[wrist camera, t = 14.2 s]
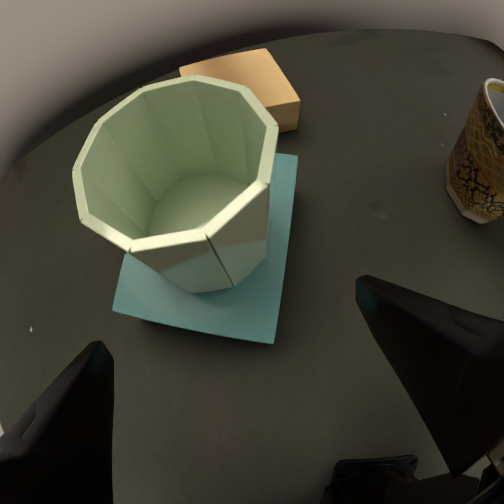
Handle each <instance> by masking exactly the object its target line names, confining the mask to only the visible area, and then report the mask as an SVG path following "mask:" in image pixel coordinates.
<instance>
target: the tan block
mask: <svg viewBox="0 0 504 504" xmlns="http://www.w3.org/2000/svg"><path fill="white" fill-rule="evenodd" d="M179 70H180V74H181V77H185V76H189V75H203V76H207V77H212V78H216V79H220V80H225V81H229V82H233V83H236V84H240V85H244V86H246V88H249V89H250V90H251V91H252V92H253V94H254V95H255V96H256V97H257V99H258V100H259V101H260V102H261V103H262V105H263V106H264V107H265V108H266V110H267V111H268V112H269V113H270V115H271V116H272V117H273V118H274V120H275V121H276V122H277V124H278V127H279V133H282V132H287V131H291V130H296V129H297V123H298V115H299V108H300V99H299V97H298V96H297V94H296V93H295V91H294V89H293V88H292V86H291V85H290V83H289V82H288V80H287V78H286V77H285V75H284V74H283V72H282V71H281V69H280V68H279V66H278V65H277V64H276V62H275V61H274V59H273V58H272V56H271V55H270V53H269V52H268V51H267V49H266V48H265V49H258V50H252V51H247V52H241V53H236V54H231V55H226V56H222V57H218V58H213V59H209V60H205V61H201V62H197V63H194V64H190V65H186V66H183V67H180V68H179Z"/></svg>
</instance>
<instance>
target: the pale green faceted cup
mask: <svg viewBox="0 0 504 504" xmlns="http://www.w3.org/2000/svg"><path fill="white" fill-rule="evenodd" d="M97 122H98V123H95V125H94V126H93V128H92V130H91V132H90V134H89V136H88V138H87V140H86V142H85V144H84V146H83V148H82V150H81V152H80V154H79V156H78V158H77V160H76V162H75V165H74V167H73V171H72V177H73V184H74V190H75V197H76V203H77V208H78V214H79V219H80V221H81V223H82V224H83V225H85V226H86V227H88V228H89V229H90V230H92V231H93V232H95V233H96V234H97V235H99V236H100V237H102V238H103V239H104V240H106V241H107V242H109V243H110V244H112V245H113V246H115V247H116V248H117V249H119V250H120V251H122V252H123V253H125V254H126V255H128V256H129V257H131V258H132V259H134V260H135V261H137V262H138V263H140V264H141V265H143V266H144V267H146V268H147V269H149V270H150V271H152V272H154V273H155V274H157V275H158V276H160V277H162V278H164V279H165V280H167V281H169V282H170V283H172V284H174V285H176V286H177V287H179V288H181V289H183V290H184V291H186V292H188V293H199V292H212V291H218V290H222V289H227V288H233V287H234V286H236V285H237V284H238V283H239V282H240V281H241V280H243V279H244V278H245V277H247V276H248V275H249V274H250V273H251V272H252V271H253V270H254V269H255V268H256V267H257V265H258V264H259V263H260V262H261V261H262V260H263V259H264V258H265V257H266V255H267V252H268V245H269V239H270V232H271V226H272V219H273V209H274V196H275V182H276V167H277V152H278V137H279V127H278V124H277V122H276V121H275V120H274V118H273V117H272V116H271V115H270V113H269V112H268V111H267V110H266V108H265V107H264V106H263V105H262V103H261V102H260V101H259V100H258V99H257V97H256V96H255V95H254V94H253V92H252V91H251V90H250V89H249V88H246V86H244V85H240V84H236V83H233V82H229V81H225V80H220V79H216V78H212V77H207V76H203V75H189V76H185V77H180V78H176V79H171V80H167V81H163V82H159V83H155V84H151V85H148V86H144V87H142V89H141V88H140V89H138V90H137V91H135V92H134V93H133V94H131V95H130V96H128V97H127V98H126V99H124V100H123V101H122V102H120V103H119V104H118V105H116V106H115V107H114V108H112V109H111V110H110V111H109V112H107V113H106V114H105V115H104V116H102V117H101V118H100V119H99V120H98V121H97ZM233 285H234V286H233Z"/></svg>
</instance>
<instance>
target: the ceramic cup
mask: <svg viewBox="0 0 504 504" xmlns="http://www.w3.org/2000/svg"><path fill="white" fill-rule="evenodd" d="M445 175H446V190H447V192H448V193H449V195H450V197H451V198H452V200H453V201H454V203H455V205H456V206H457V208H458V210H459V211H460V213H461V214H462V215H463V216H465V217H467V218H469V219H471V220H473V221H475V222H477V223H479V224H484V223H487V222H490V221H493V220H495V219H498V218H501V217H504V80H503V79H501V80H498V79H494V78H488V79H486V80H485V81H484V82H483V84H482V86H481V88H480V90H479V92H478V94H477V96H476V99H475V101H474V103H473V106H472V108H471V110H470V113H469V115H468V118H467V121H466V124H465V126H464V128H463V130H462V132H461V134H460V136H459V138H458V140H457V142H456V144H455V146H454V149H453V150H452V152H451V154H450V156H449V158H448V160H447V162H446V165H445Z"/></svg>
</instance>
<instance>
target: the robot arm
mask: <svg viewBox="0 0 504 504" xmlns="http://www.w3.org/2000/svg"><path fill="white" fill-rule="evenodd" d="M356 302H357V305H358V306H359V309H360V311H361V313H362V315H363V317H364V319H365V321H366V323H367V325H368V327H369V329H370V331H371V333H372V335H373V337H374V339H375V340H376V342H377V344H378V345H379V347H380V348H381V350H382V352H383V353H384V355H385V356H386V358H387V360H388V361H389V363H390V365H391V366H392V368H393V369H394V371H395V373H396V374H397V376H398V378H399V379H400V381H401V383H402V384H403V386H404V388H405V389H406V391H407V393H408V395H409V396H410V398H411V400H412V401H413V403H414V405H415V407H416V408H417V410H418V412H419V414H420V415H421V417H422V419H423V421H424V423H425V424H426V426H427V428H428V430H429V431H430V434H431V436H432V438H433V439H434V441H435V443H436V445H437V447H438V449H439V451H440V453H441V454H442V456H443V458H444V460H445V462H446V464H447V466H448V468H449V470H450V473H446V474H443V475H439V476H435V477H431V478H427V479H422V480H418V479H417V478H416V477H414V476H413V474H414V471H415V469H416V466H417V463H418V457H416V456H415V455H405V456H396V457H386V458H373V459H349V460H340V461H338V462H337V463H336V465H335V469H334V472H333V475H332V479H331V482H330V485H328V486H326V487H325V489H324V493H323V496H322V499H321V502H320V504H504V321H500V320H496V319H493V318H489V317H486V316H482V315H479V314H476V313H472V312H470V311H467V310H464V309H461V308H458V307H456V306H453V305H449V304H447V303H445V302H442V301H439V300H437V299H434V298H431V297H428V296H426V295H423V294H420V293H418V292H415V291H412V290H409V289H407V288H404V287H401V286H398V285H395V284H393V283H390V282H387V281H384V280H381V279H379V278H376V277H373V276H370V275H364V276H360V277H358V278H357V279H356ZM113 411H114V360H113V357H112V355H111V354H110V352H109V351H108V349H107V348H106V346H105V344H104V343H103V342H102V341H100V340H99V341H93V342H91V343H89V345H88V346H87V347H86V348H85V349H84V350H83V351H82V352H81V353H80V354H79V355H78V356H77V357H76V358H75V359H74V360H73V361H72V362H71V363H70V364H69V365H68V366H67V367H66V368H65V369H64V370H63V371H62V372H61V373H60V375H59V376H58V377H57V378H56V379H55V380H54V381H53V382H52V383H51V384H50V385H49V386H48V387H47V388H46V390H45V391H44V392H43V393H42V394H41V395H40V396H39V397H38V398H37V399H36V400H35V402H34V403H33V404H32V405H31V406H30V407H29V408H28V409H27V410H26V411H25V413H24V414H23V415H22V416H21V417H20V418H19V419H18V420H17V421H16V422H15V423H14V424H13V425H12V426H11V427H10V428H9V429H8V430H7V431H6V432H5V433H4V434H3V435H2V436H1V437H0V504H113V488H112V431H113ZM485 456H487V457H488V459H489V461H490V462H491V464H490V465H489V466H487V467H486V468H485V469H484V470H483V473H482V476H481V480H479V479H478V478H475V477H471V476H467V475H463V473H464V472H465V471H467V470H468V469H469V468H471V467H472V466H473V465H475V464H476V463H477V462H479V461H480V460H481V459H482V458H484V457H485ZM412 459H413V461H412V462H411V463H410V461H411V460H412ZM342 465H346V466H345V467H344V468H342V469H341V468H340V467H341V466H342ZM479 481H480V483H479ZM478 485H479V487H478Z"/></svg>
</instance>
